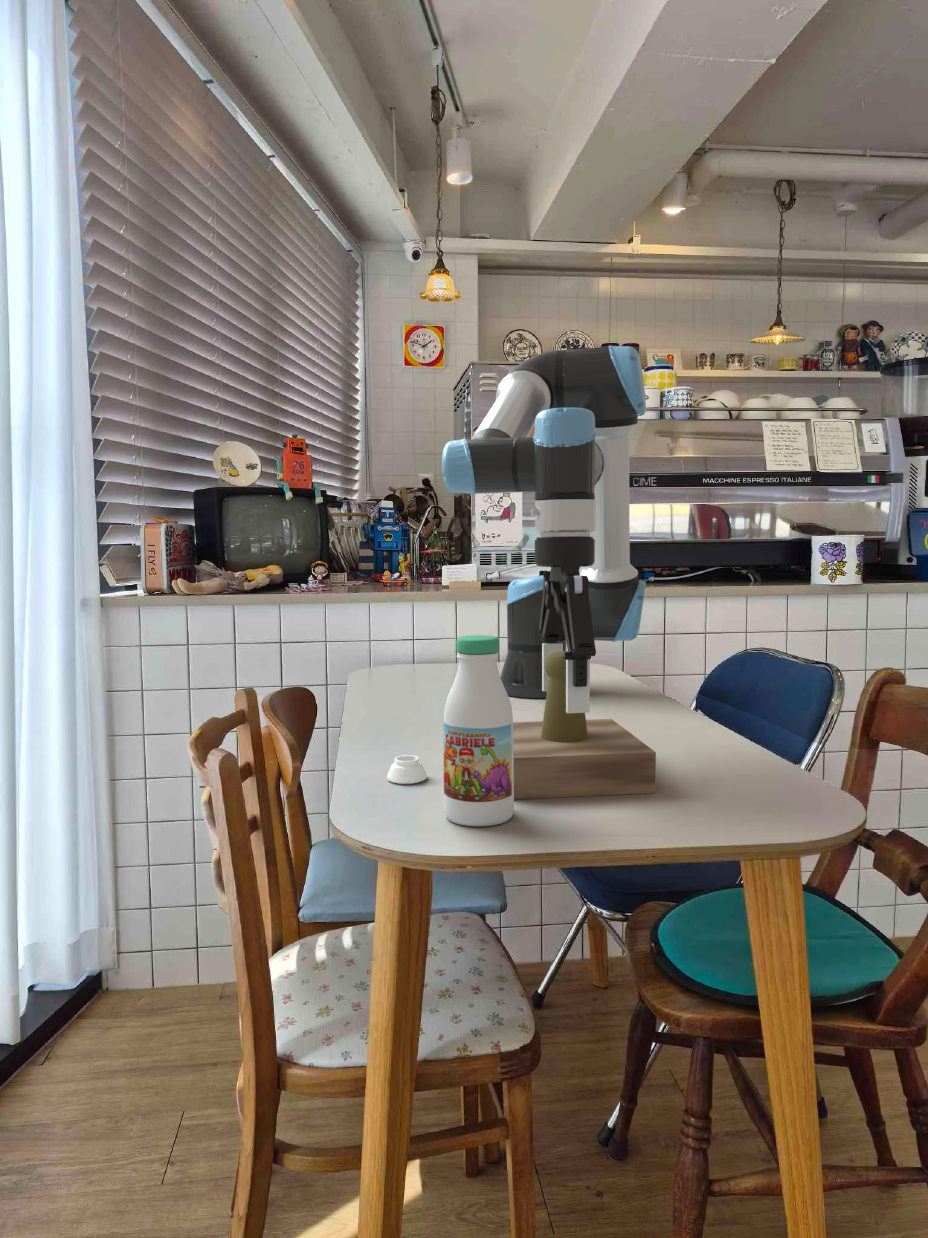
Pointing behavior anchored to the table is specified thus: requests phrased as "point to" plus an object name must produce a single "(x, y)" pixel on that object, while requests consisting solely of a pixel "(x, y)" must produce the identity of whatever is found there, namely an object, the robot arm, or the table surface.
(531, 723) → the walnut riser
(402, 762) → the white jar
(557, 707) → the olive pepper mill
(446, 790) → the milk bottle
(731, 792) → the table surface
